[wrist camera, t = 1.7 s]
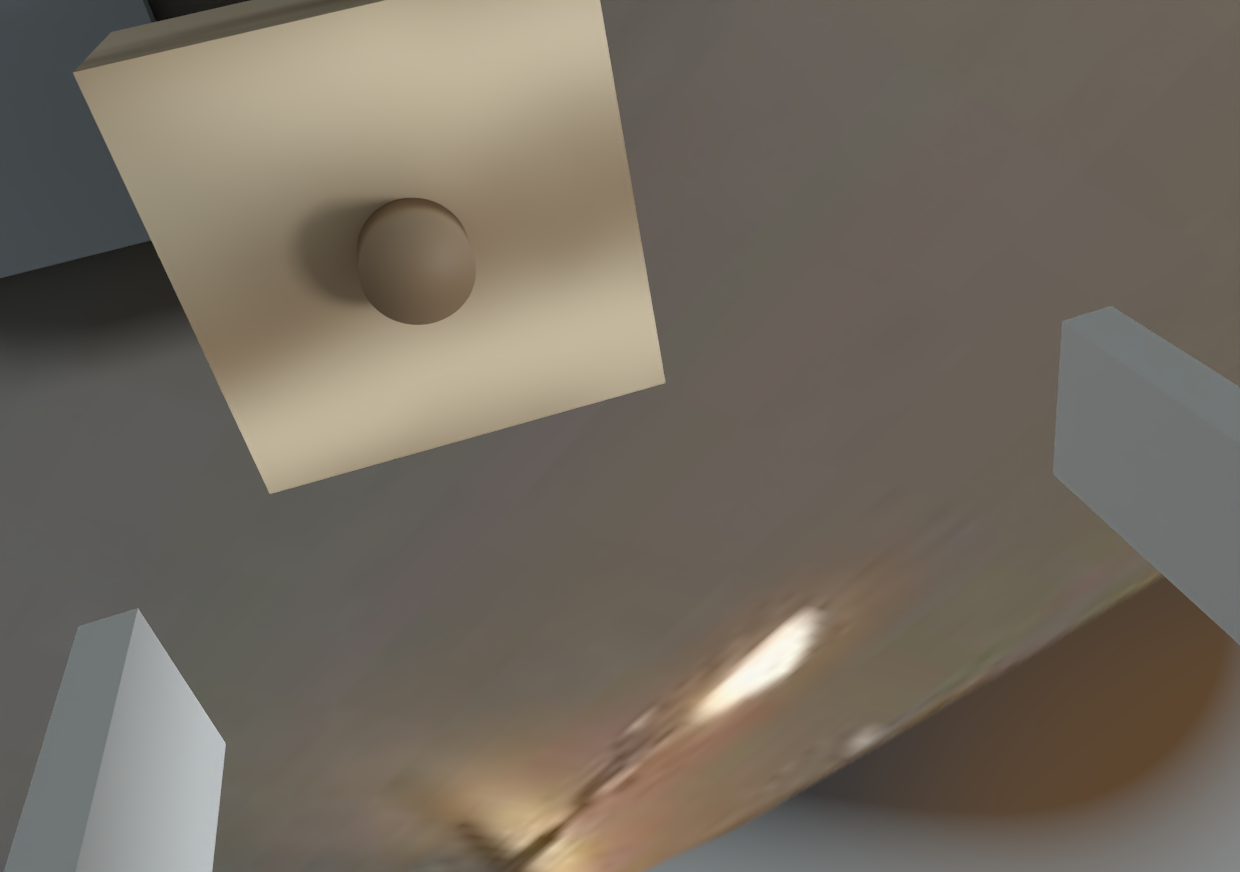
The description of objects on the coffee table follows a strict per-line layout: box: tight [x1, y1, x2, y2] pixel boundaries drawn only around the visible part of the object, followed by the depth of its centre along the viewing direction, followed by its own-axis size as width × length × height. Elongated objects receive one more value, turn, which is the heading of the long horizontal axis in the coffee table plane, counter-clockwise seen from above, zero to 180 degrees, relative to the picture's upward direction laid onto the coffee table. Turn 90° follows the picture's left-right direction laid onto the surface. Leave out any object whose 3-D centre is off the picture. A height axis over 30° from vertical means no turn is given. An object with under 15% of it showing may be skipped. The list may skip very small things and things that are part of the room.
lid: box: [73, 0, 665, 494], centre depth 23 cm, size 10×10×5 cm
